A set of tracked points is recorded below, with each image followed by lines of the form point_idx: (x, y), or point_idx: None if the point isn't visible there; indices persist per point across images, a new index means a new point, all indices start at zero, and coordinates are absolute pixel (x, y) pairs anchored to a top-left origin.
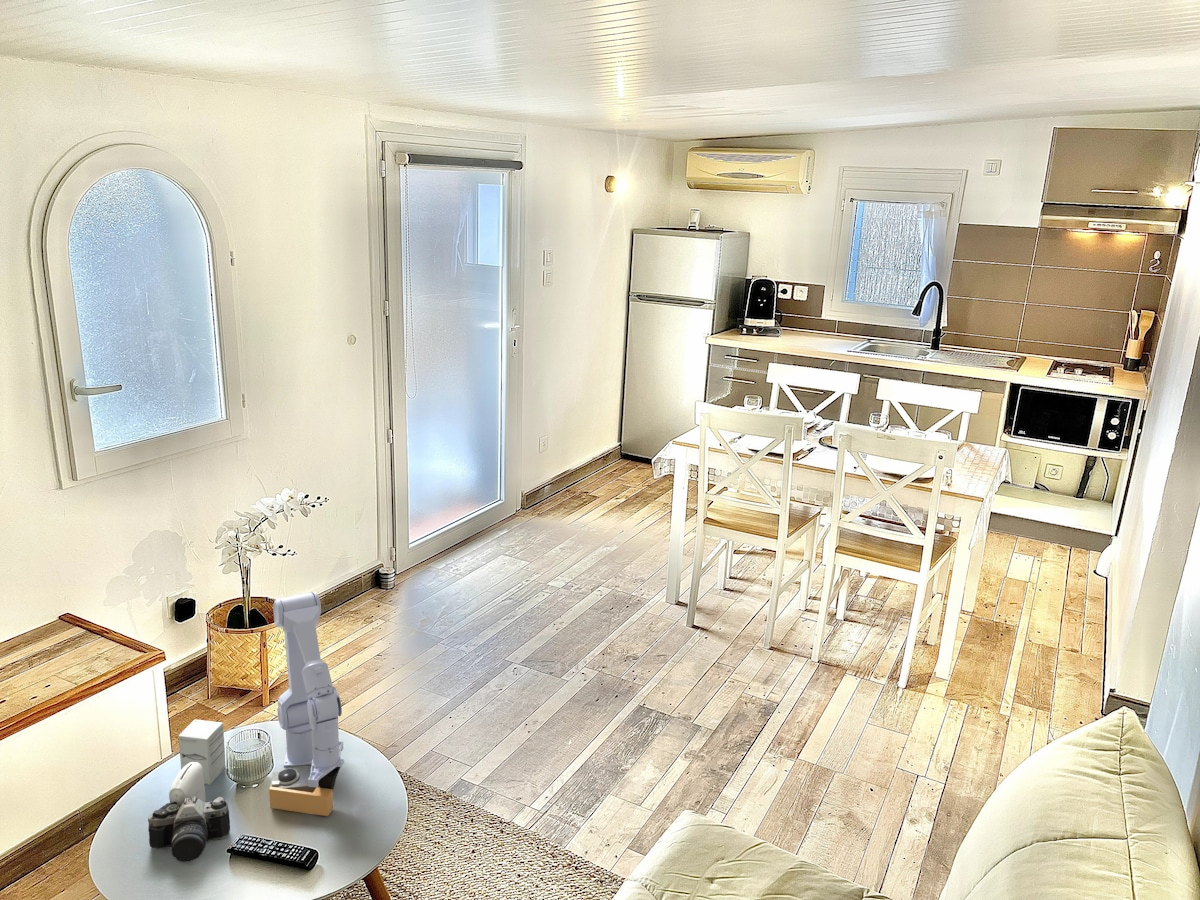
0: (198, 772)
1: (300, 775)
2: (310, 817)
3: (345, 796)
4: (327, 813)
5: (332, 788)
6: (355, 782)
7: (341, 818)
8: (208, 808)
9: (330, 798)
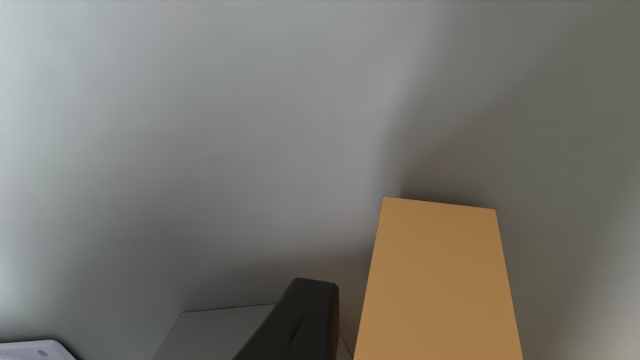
0: None
1: None
2: None
3: (210, 145)
4: (497, 230)
5: (306, 346)
6: (51, 123)
7: (494, 87)
8: None
9: (430, 309)
